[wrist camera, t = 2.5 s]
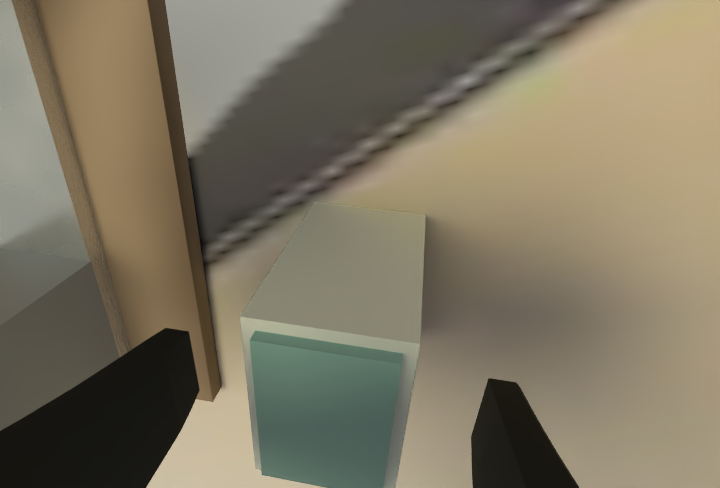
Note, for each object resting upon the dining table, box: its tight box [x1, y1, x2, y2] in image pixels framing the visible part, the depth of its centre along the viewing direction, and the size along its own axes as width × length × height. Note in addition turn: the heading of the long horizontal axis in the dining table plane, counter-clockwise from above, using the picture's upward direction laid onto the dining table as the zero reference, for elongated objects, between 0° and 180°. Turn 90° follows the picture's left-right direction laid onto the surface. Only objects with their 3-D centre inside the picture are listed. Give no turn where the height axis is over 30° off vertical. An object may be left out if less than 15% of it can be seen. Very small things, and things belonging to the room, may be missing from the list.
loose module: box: [240, 202, 426, 488], centre depth 12 cm, size 4×5×6 cm
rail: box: [0, 0, 131, 357], centre depth 13 cm, size 4×21×1 cm, turn 177°
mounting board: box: [34, 0, 221, 402], centre depth 13 cm, size 10×22×1 cm, turn 177°
